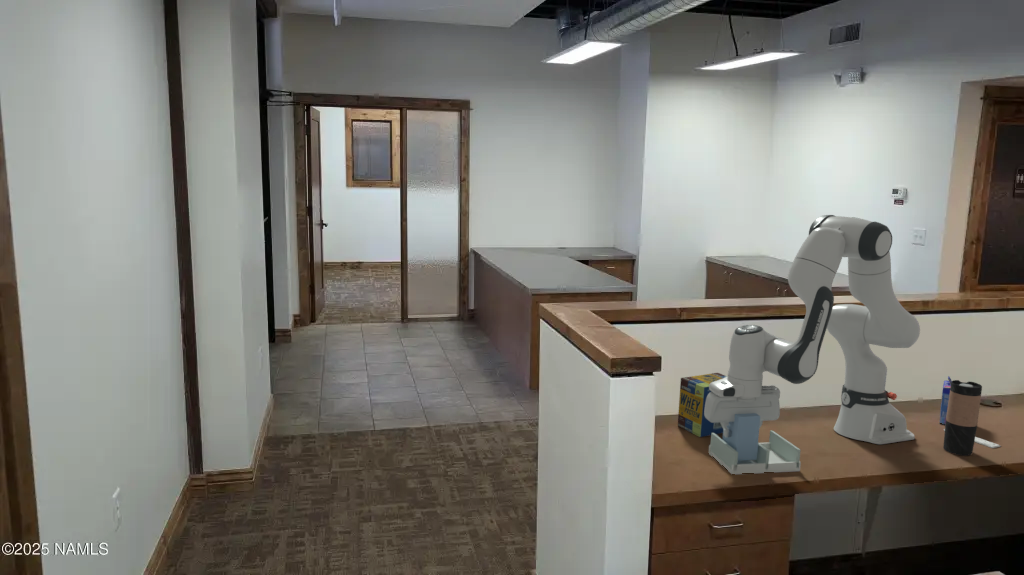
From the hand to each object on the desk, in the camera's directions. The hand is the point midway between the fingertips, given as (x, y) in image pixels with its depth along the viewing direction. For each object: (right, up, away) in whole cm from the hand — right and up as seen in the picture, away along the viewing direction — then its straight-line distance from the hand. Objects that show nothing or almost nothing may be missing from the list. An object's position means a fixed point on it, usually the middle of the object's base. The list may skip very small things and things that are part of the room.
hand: (740, 436), depth 192 cm
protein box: (-1, -3, +27) cm, 27 cm away
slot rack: (+4, -7, +2) cm, 9 cm away
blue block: (0, -5, +1) cm, 5 cm away
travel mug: (+67, -7, +14) cm, 69 cm away
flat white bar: (+78, -6, +25) cm, 82 cm away
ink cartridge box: (+80, -4, +39) cm, 89 cm away
